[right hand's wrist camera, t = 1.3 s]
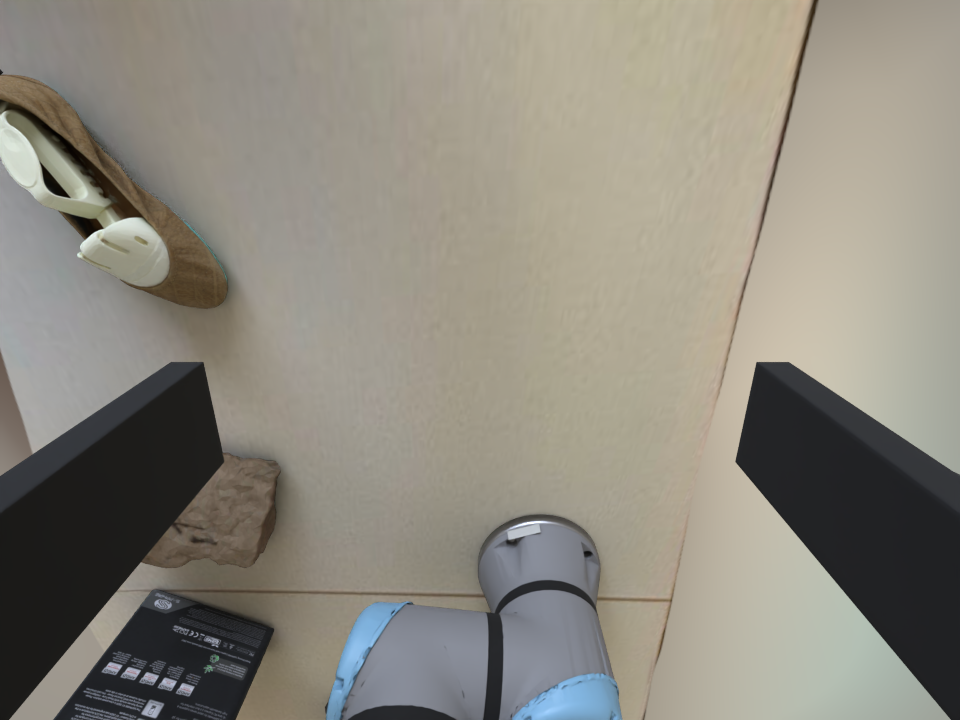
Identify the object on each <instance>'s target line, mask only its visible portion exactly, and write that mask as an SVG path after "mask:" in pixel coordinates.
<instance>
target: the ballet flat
mask: <svg viewBox="0 0 960 720" xmlns="http://www.w3.org/2000/svg"><path fill="white" fill-rule="evenodd" d="M0 157H1V160H2V162H3V164H4V166H5V168H6V169H7V171H8V173H9V174H10V175H11V177H12V178H13V179H14V180H15V181H16V183H18V184H19V185H20V186H21V187H22V188H24V189H26V190H27V191H29V192H30V193H31V194H32V195H33V196H34V198H35V199H36V200H37V201H38V202H39V203H40V204H42V205H44V206H45V207H48V208H52V209H55V210H58V211H59V212H60V213H61V214H62V215H63V217H64V218H65V219H66V220H67V221H68V222H69V223H70V224H71V225H72V226H73V227H74V228H75V229H76V230H77V232H78V233H79V234H80V235H81V236H82V237H83V238H84V239H85V241H84V242H83V243H82V244H81V246H80V249H81V251H82V252H80V253H78V254H77V256H78V257H79V258H80V259H82V260H84V261H85V262H87V263H89V264H91V265H93V266H95V267H97V268H99V269H101V270H103V271H105V272H107V273H110V274H112V275H114V276H115V277H116V278H119V279H120V280H121V281H123V282H124V283H126V284H127V285H129V286H131V287H134V288H137V289H140V290H143V291H146V292H148V293H150V294H153V295H155V296H157V297H161V298H163V299H166V300H169V301H172V302H174V303H176V304H179V305H183V306H188V307H196V308H202V309H208V308H213V307H216V306H218V305H220V304H221V303H222V302H223V301H224V299H225V297H226V294H227V290H228V286H227V277H226V275H225V272H224V270H223V268H222V266H221V265H220V263H219V261H218V260H217V258H216V257H215V255H214V254H213V252H212V251H211V250H210V248H209V247H208V246H207V244H206V243H205V242H204V241H203V239H202V238H201V237H200V236H199V235H198V234H197V233H196V232H195V231H194V230H193V229H192V228H191V227H190V226H189V225H188V224H186V223H185V222H184V221H183V220H182V219H180V218H179V217H178V216H177V215H175V213H173V212H172V211H171V210H170V209H169V208H168V207H167V206H166V205H164V204H163V203H162V202H161V201H159V200H158V199H156V198H155V197H153V196H152V195H151V194H149V193H148V192H146V191H145V190H143V189H142V188H140V187H139V186H138V185H137V184H136V183H135V182H133V181H132V180H131V179H130V178H128V177H127V175H126V174H125V172H124V171H123V170H122V168H121V167H120V166H119V165H118V164H117V163H116V162H115V161H114V160H113V159H112V158H111V157H109V156H108V155H107V154H106V153H105V152H104V151H103V150H102V149H101V148H100V147H99V145H98V144H97V143H96V142H95V141H94V140H93V138H92V137H91V136H90V134H89V133H88V132H87V130H86V129H85V127H84V126H83V124H82V122H81V120H80V118H79V116H78V114H77V113H76V111H75V110H74V109H73V108H72V107H71V106H70V105H69V104H68V103H67V102H66V101H65V100H64V99H63V98H62V97H61V96H60V95H59V94H58V93H57V92H56V91H54V90H53V89H51V88H50V87H48V86H47V85H45V84H44V83H42V82H40V81H37V80H35V79H32V78H29V77H24V76H19V75H0Z"/></svg>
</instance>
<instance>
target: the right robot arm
mask: <svg viewBox="0 0 960 720" xmlns="http://www.w3.org/2000/svg"><path fill="white" fill-rule="evenodd" d="M223 463H224V457H223V452H222V447H221V443H220V438H219V433H218V429H217V424H216V419H215V414H214V410H213V405H212V400H211V396H210V391H209V386H208V382H207V377H206V372H205V367H204V363H203V362H171V363H169V364H168V365H166V366H165V367H163V368H162V369H160V370H159V371H157V372H156V373H154V374H153V375H151V376H150V377H148V378H147V379H145V380H144V381H142V382H141V383H139V384H138V385H136V386H135V387H133V388H132V389H130V390H129V391H127V392H126V393H124V394H123V395H121V396H120V397H118V398H117V399H115V400H114V401H112V402H111V403H109V404H108V405H106V406H105V407H103V408H102V409H100V410H99V411H97V412H96V413H94V414H93V415H91V416H90V417H88V418H87V419H85V420H84V421H82V422H81V423H79V424H78V425H76V426H75V427H73V428H72V429H70V430H69V431H67V432H66V433H64V434H63V435H61V436H60V437H58V438H57V439H55V440H54V441H52V442H51V443H49V444H48V445H46V446H45V447H43V448H42V449H40V450H39V451H37V452H36V453H34V454H33V455H31V456H30V457H28V458H27V459H25V460H24V461H22V462H21V463H19V464H18V465H16V466H15V467H13V468H12V469H10V470H9V471H7V472H6V473H4V474H3V475H1V476H0V720H9V719H10V718H11V717H12V715H13V714H14V713H15V712H16V711H17V709H18V708H19V707H20V706H21V705H22V704H23V702H24V701H25V700H26V699H27V698H28V696H29V695H30V694H31V693H32V692H33V690H34V689H35V688H36V687H37V686H38V684H39V683H40V682H41V681H42V680H43V678H44V677H45V676H46V675H47V674H48V672H49V671H50V670H51V669H52V668H53V666H54V665H55V664H56V663H57V662H58V660H59V659H60V658H61V657H62V656H63V655H64V653H65V652H66V651H67V650H68V649H69V647H70V646H71V645H72V644H73V643H74V641H75V640H76V639H77V638H78V637H79V635H80V634H81V633H82V632H83V631H84V629H85V628H86V627H87V626H88V625H89V623H90V622H91V621H92V620H93V619H94V617H95V616H96V615H97V614H98V613H99V611H100V610H101V609H102V608H103V607H104V605H105V604H106V603H107V602H108V601H109V599H110V598H111V597H112V596H113V595H114V594H115V592H116V591H117V590H118V589H119V588H120V586H121V585H122V584H123V583H124V582H125V580H126V579H127V578H128V577H129V576H130V574H131V573H132V572H133V571H134V570H135V568H136V567H137V566H138V565H139V564H140V562H141V561H142V560H143V559H144V558H145V556H146V555H147V554H148V553H149V552H150V550H151V549H152V548H153V547H154V546H155V544H156V543H157V542H158V541H159V540H160V538H161V537H162V536H163V535H164V534H165V532H166V531H167V530H168V529H169V528H170V527H171V525H172V524H173V523H174V522H175V521H176V519H177V518H178V517H179V516H180V515H181V513H182V512H183V511H184V510H185V509H186V507H187V506H188V505H189V504H190V503H191V501H192V500H193V499H194V498H195V497H196V495H197V494H198V493H199V492H200V491H201V489H202V488H203V487H204V486H205V485H206V483H207V482H208V481H209V480H210V479H211V477H212V476H213V475H214V474H215V473H216V471H217V470H218V469H219V468H220V467H221V465H222V464H223ZM736 463H737V464H738V465H739V467H740V468H741V469H742V470H743V471H744V473H745V474H746V475H747V476H748V477H749V479H750V480H751V481H752V482H753V483H754V485H755V486H756V487H757V488H758V489H759V491H760V492H761V493H762V494H763V495H764V497H765V498H766V499H767V500H768V501H769V503H770V504H771V505H772V506H773V507H774V509H775V510H776V511H777V512H778V513H779V515H780V516H781V517H782V518H783V519H784V521H785V522H786V523H787V524H788V525H789V526H790V528H791V529H792V530H793V531H794V532H795V534H796V535H797V536H798V537H799V538H800V540H801V541H802V542H803V543H804V544H805V546H806V547H807V548H808V549H809V550H810V552H811V553H812V554H813V555H814V556H815V558H816V559H817V560H818V561H819V562H820V564H821V565H822V566H823V567H824V568H825V570H826V571H827V572H828V573H829V574H830V576H831V577H832V578H833V579H834V580H835V582H836V583H837V584H838V585H839V586H840V588H841V589H842V590H843V591H844V592H845V594H846V595H847V596H848V597H849V598H850V599H851V601H852V602H853V603H854V604H855V605H856V607H857V608H858V609H859V610H860V611H861V613H862V614H863V615H864V616H865V617H866V619H867V620H868V621H869V622H870V623H871V624H872V626H873V627H874V628H875V629H876V631H877V632H878V633H879V634H880V635H881V637H882V638H883V639H884V640H885V641H886V642H887V644H888V645H889V646H890V647H891V649H892V650H893V651H894V652H895V653H896V654H897V656H898V657H899V658H900V659H901V660H902V662H903V663H904V664H905V665H906V666H907V668H908V669H909V670H910V671H911V672H912V674H913V675H914V676H915V677H916V678H917V680H918V681H919V682H920V683H921V684H922V686H923V687H924V688H925V689H926V690H927V692H928V693H929V694H930V695H931V696H932V698H933V699H934V700H935V701H936V702H937V704H938V705H939V706H940V707H941V708H942V710H943V711H944V712H945V713H946V714H947V716H948V717H949V718H950V719H951V720H960V475H959V474H957V473H955V472H953V471H951V470H950V469H948V468H947V467H945V466H944V465H942V464H941V463H939V462H938V461H936V460H935V459H933V458H932V457H930V456H929V455H927V454H926V453H924V452H923V451H921V450H920V449H918V448H917V447H915V446H914V445H912V444H911V443H909V442H908V441H906V440H905V439H903V438H902V437H900V436H899V435H897V434H896V433H894V432H893V431H891V430H890V429H888V428H887V427H885V426H884V425H882V424H881V423H879V422H878V421H876V420H875V419H873V418H872V417H870V416H869V415H867V414H866V413H864V412H863V411H861V410H860V409H858V408H857V407H855V406H854V405H852V404H851V403H849V402H848V401H846V400H845V399H843V398H842V397H840V396H839V395H837V394H836V393H834V392H833V391H831V390H830V389H828V388H827V387H825V386H824V385H822V384H821V383H819V382H818V381H816V380H815V379H813V378H812V377H810V376H809V375H807V374H806V373H804V372H803V371H801V370H800V369H798V368H797V367H795V366H794V365H792V364H791V363H789V362H757V363H756V368H755V372H754V377H753V382H752V386H751V391H750V396H749V400H748V405H747V410H746V414H745V419H744V424H743V429H742V433H741V438H740V443H739V447H738V452H737V457H736ZM478 578H479V582H480V585H481V588H482V591H483V593H484V596H485V598H486V600H487V603H488V605H489V608H490V610H491V612H492V613H487V612H478V611H468V610H459V609H449V608H440V607H430V606H421V605H413V603H412V602H408V601H407V602H403V603H387V602H377V603H373V604H372V605H370V606H369V607H367V608H365V609H364V610H363V611H362V613H361V614H360V615H359V617H358V618H357V620H356V622H355V624H354V626H353V628H352V630H351V632H350V635H349V637H348V639H347V642H346V644H345V647H344V650H343V653H342V656H341V659H340V662H339V665H338V668H337V672H336V681H335V682H334V685H333V688H332V691H331V694H330V698H329V703H328V708H327V714H326V720H622V715H621V710H620V705H619V700H618V699H619V690H618V686H617V683H616V681H615V680H614V676H613V672H612V668H611V664H610V661H609V657H608V653H607V649H606V645H605V641H604V638H603V634H602V630H601V626H600V622H599V618H598V614H597V610H596V602H597V595H598V587H599V580H600V561H599V557H598V553H597V550H596V547H595V544H594V542H593V540H592V539H591V537H590V536H589V535H588V534H587V532H585V531H584V530H583V529H582V528H581V527H580V526H578V525H577V524H575V523H573V522H571V521H569V520H566V519H564V518H561V517H556V516H551V515H530V516H524V517H520V518H517V519H514V520H511V521H509V522H507V523H505V524H503V525H501V526H500V527H499V528H497V529H496V530H495V531H493V532H492V533H491V534H490V535H489V537H488V538H487V539H486V540H485V542H484V544H483V545H482V548H481V550H480V553H479V558H478Z"/></svg>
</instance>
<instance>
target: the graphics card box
mask: <svg viewBox="0 0 960 720" xmlns="http://www.w3.org/2000/svg"><path fill="white" fill-rule="evenodd" d="M273 632H274V629H273V628H270V627H267V626H264V625H262V624H258V623H255V622H252V621H249V620H246V619H244V618H240V617H237V616H234V615H231V614H228V613H226V612H223V611H220V610H216V609H214V608H210V607H208V606H205V605H201V604H199V603H196V602H193V601H189V600H187V599H184V598H181V597H178V596H175V595H172V594H169V593H166V592H163V591H160V590H152V592H151V593H150V594H149V595H148V597H147V598H146V599H145V601H144V602H143V603H142V604H141V605H140V607H139V608H138V610H137V611H136V612H135V613H134V615H133V616H132V618H131V619H130V620H129V621H128V623H127V624H126V625H125V627H124V628H123V629H122V630H121V632H120V633H119V635H118V636H117V637H116V638H115V640H114V641H113V642H112V644H111V645H110V646H109V648H108V649H107V650H106V652H105V653H104V654H103V655H102V657H101V658H100V659H99V661H98V662H97V663H96V665H95V666H94V667H93V669H92V670H91V671H90V673H89V674H88V675H87V677H86V678H85V679H84V681H83V682H82V683H81V684H80V686H79V687H78V688H77V690H76V691H75V692H74V694H73V695H72V696H71V697H70V699H69V700H68V701H67V703H66V704H65V705H64V707H63V708H62V709H61V710H60V712H59V713H58V714H57V716H56V717H55V718H54V720H236V717H237V715H238V713H239V711H240V708H241V706H242V704H243V702H244V699H245V697H246V695H247V692H248V690H249V688H250V686H251V684H252V681H253V679H254V677H255V674H256V673H257V670H258V668H259V666H260V663H261V661H262V658H263V656H264V654H265V652H266V649H267V647H268V644H269V642H270V640H271V637H272V634H273Z"/></svg>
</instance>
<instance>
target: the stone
mask: <svg viewBox="0 0 960 720" xmlns="http://www.w3.org/2000/svg"><path fill="white" fill-rule="evenodd" d="M223 457H224V463H223V464H222V465H221V467H220V468H219V469H218V470H217V471H216V473H215V474H214V475H213V476H212V477H211V479H210V480H209V481H208V482H207V483H206V485H205V486H204V487H203V488H202V489H201V491H200V492H199V493H198V494H197V495H196V497H195V498H194V499H193V500H192V501H191V503H190V504H189V505H188V506H187V507H186V509H185V510H184V511H183V512H182V513H181V515H180V516H179V517H178V518H177V519H176V521H175V522H174V523H173V524H172V525H171V527H170V528H169V529H168V530H167V531H166V532H165V534H164V535H163V536H162V537H161V538H160V540H159V541H158V542H157V543H156V544H155V546H154V547H153V548H152V549H151V550H150V552H149V553H148V554H147V555H146V556H145V558H144V559H143V560H142V561H141V562H143V563H146V564H150V565H154V566H158V567H163V568H176V567H180V566H183V565H185V564H186V563H187V562H189V561H191V560H196V559H202V558H210V559H211V560H213V561H215V562H216V563H217V564H219V565H223V564H233V565H238V566H240V567H244V568H246V567H250V566H251V565H253V564H254V563H255V561H256V560H257V558H258V557H259V555H260V553H263V552H264V550H265V547H266V545H267V542H268V540H269V537H270V535H271V533H272V532H273V530H274V525H275V519H276V510H275V506H274V501H275V494H276V486H277V480H276V479H277V477H278V475H279V474H280V467H279V465H278V463H277V462H276V461H266V460H263V459H256V458H244V459H243V458H239V457H236V456H233V455H231V454H229V453H223Z"/></svg>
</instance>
